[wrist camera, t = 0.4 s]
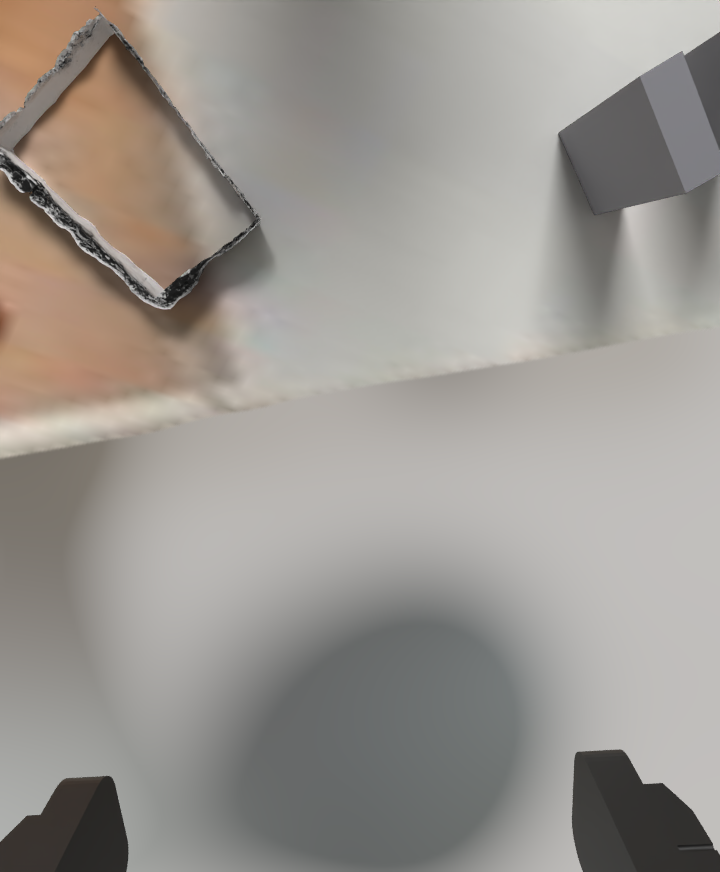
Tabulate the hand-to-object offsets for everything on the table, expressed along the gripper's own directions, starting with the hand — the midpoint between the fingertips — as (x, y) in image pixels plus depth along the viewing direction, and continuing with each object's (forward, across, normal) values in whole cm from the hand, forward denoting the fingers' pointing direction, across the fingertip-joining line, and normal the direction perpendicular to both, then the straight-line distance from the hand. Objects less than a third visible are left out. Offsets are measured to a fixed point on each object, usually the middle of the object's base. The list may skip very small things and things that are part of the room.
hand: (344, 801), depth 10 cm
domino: (+28, -14, -14) cm, 35 cm away
